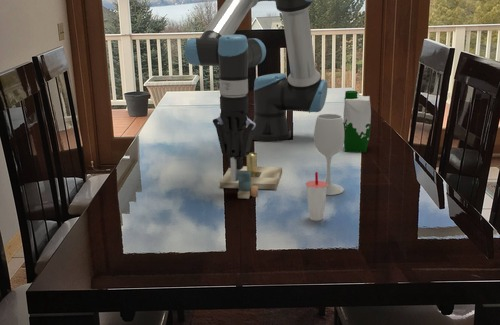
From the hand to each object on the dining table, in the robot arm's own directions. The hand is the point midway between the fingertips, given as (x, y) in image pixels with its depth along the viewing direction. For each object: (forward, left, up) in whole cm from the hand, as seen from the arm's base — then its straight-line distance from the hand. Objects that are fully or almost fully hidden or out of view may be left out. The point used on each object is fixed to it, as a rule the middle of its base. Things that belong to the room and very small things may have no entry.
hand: (235, 179), depth 169 cm
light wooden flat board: (-4, +7, -4) cm, 9 cm away
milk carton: (-13, +57, -4) cm, 59 cm away
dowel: (+5, +3, -4) cm, 7 cm away
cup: (+27, +6, -4) cm, 28 cm away
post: (-7, +10, -4) cm, 13 cm away
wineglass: (+13, +22, -4) cm, 26 cm away
